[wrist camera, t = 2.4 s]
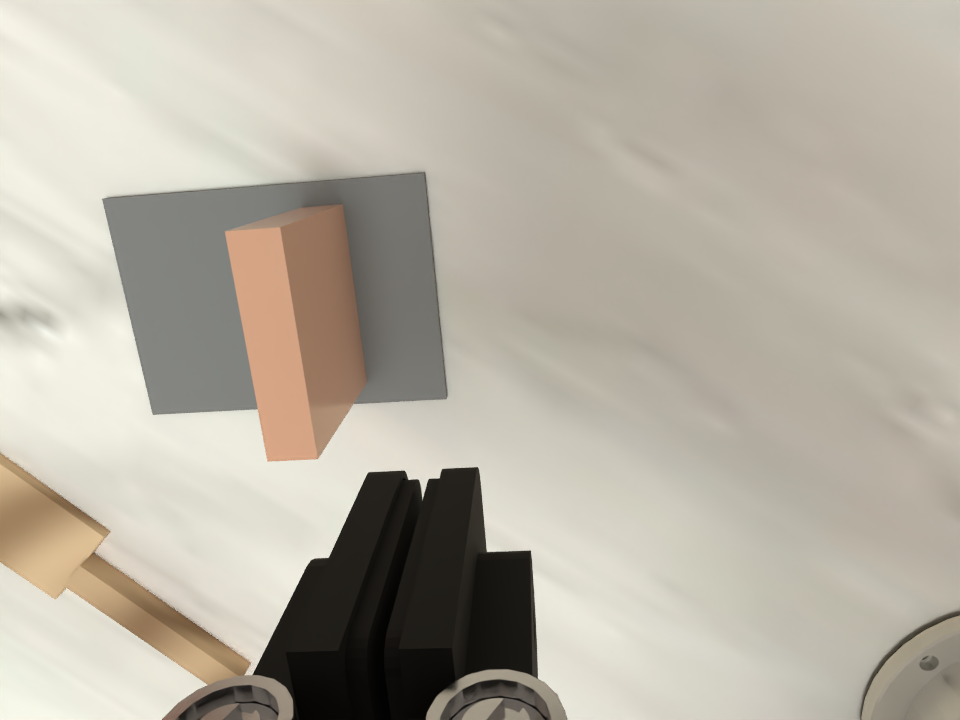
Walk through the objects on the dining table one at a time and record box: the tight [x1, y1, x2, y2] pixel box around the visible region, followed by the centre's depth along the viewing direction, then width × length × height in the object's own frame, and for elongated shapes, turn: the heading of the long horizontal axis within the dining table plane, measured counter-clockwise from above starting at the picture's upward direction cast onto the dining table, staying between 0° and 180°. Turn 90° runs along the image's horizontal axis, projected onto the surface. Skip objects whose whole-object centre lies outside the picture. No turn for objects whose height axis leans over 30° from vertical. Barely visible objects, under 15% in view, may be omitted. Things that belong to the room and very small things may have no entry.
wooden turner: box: [0, 453, 250, 685], centre depth 36 cm, size 17×5×1 cm, turn 50°
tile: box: [225, 204, 367, 461], centre depth 27 cm, size 8×2×8 cm, turn 5°
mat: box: [102, 173, 447, 415], centre depth 31 cm, size 10×14×1 cm
